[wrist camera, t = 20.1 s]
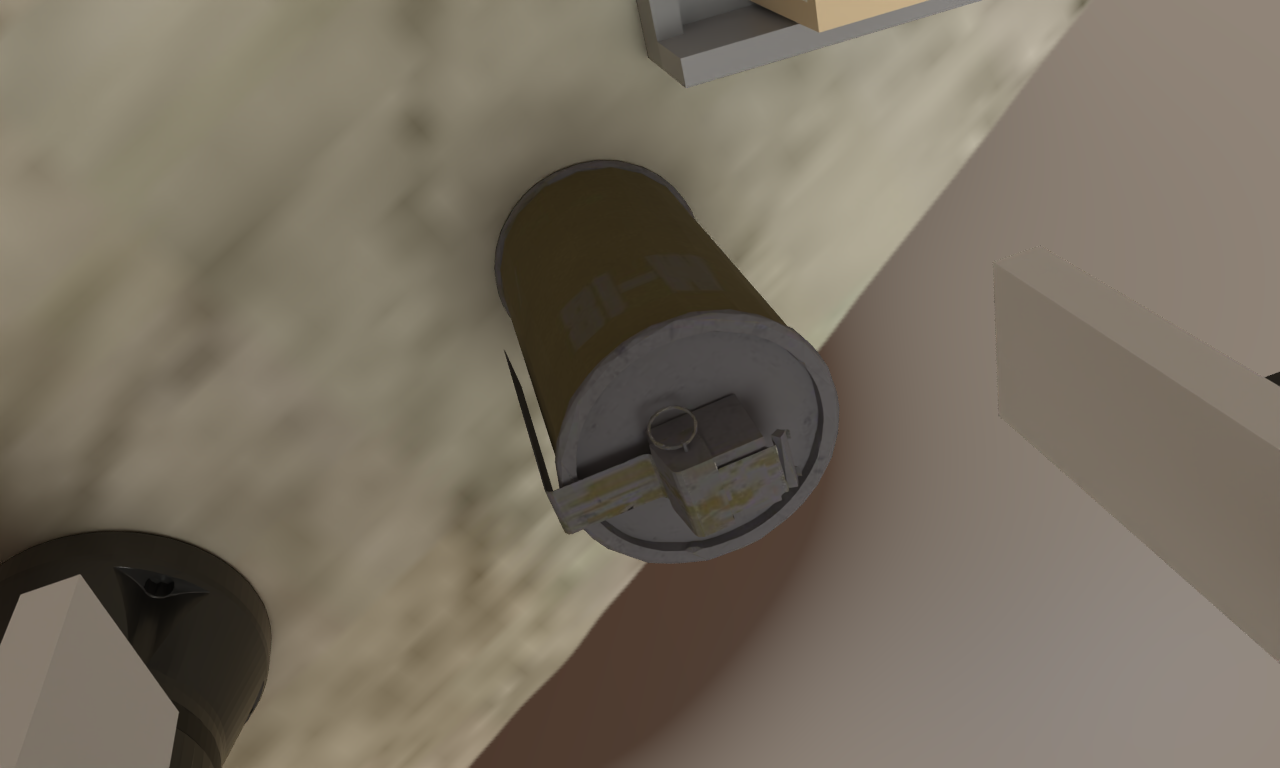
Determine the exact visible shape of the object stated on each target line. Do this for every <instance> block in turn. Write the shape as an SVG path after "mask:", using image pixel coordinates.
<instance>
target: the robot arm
mask: <svg viewBox="0 0 1280 768" xmlns="http://www.w3.org/2000/svg"><path fill="white" fill-rule="evenodd" d="M993 275H994V303H995V329H996V330H995V331H996V356H997V385H998V386H997V387H998V412H999V413H998V415H999V416H1000V417H1001V418H1002V419H1003V420H1004V421H1005V422H1006V423H1008V424H1009V425H1010V426H1011V427H1012V428H1013V429H1014V430H1015V431H1017V432H1018V433H1019V434H1020V435H1021V436H1022V437H1023V438H1025V439H1026V440H1027V441H1028V442H1029V443H1030V444H1031V445H1033V446H1034V447H1035V448H1036V449H1037V450H1038V451H1040V453H1042V454H1043V455H1044V456H1045V457H1046V458H1047V459H1048V460H1050V461H1051V462H1052V463H1053V464H1054V465H1055V466H1056V467H1058V468H1059V469H1060V470H1061V471H1062V472H1063V473H1065V475H1066V476H1068V477H1069V478H1070V479H1071V480H1072V481H1073V482H1074V483H1076V484H1077V485H1078V486H1079V487H1080V488H1081V489H1082V490H1084V491H1085V492H1086V493H1087V494H1088V495H1089V496H1090V497H1091V498H1093V499H1094V500H1095V501H1096V502H1097V503H1098V504H1099V505H1101V506H1102V507H1103V508H1104V509H1105V510H1106V511H1107V512H1108V513H1110V514H1111V515H1112V516H1113V517H1114V518H1115V519H1117V520H1118V521H1119V522H1120V523H1121V524H1122V525H1123V526H1124V527H1126V528H1127V529H1128V530H1129V531H1130V532H1131V533H1132V534H1133V535H1135V536H1136V537H1137V538H1138V539H1139V540H1140V541H1141V542H1143V543H1144V544H1145V545H1146V546H1147V547H1148V548H1149V549H1151V550H1152V551H1153V552H1154V553H1155V554H1156V555H1157V556H1158V557H1159V558H1161V559H1162V560H1163V561H1164V562H1165V563H1166V564H1167V565H1169V566H1170V567H1171V568H1172V569H1173V570H1175V572H1176V573H1178V574H1179V575H1180V576H1181V577H1182V578H1183V579H1185V580H1186V581H1187V582H1188V583H1189V584H1190V585H1191V586H1192V587H1194V588H1195V589H1196V590H1197V591H1198V592H1199V593H1200V594H1202V595H1203V596H1204V597H1205V598H1206V599H1207V600H1208V601H1209V602H1211V603H1212V604H1213V605H1214V606H1215V607H1216V608H1217V609H1219V610H1220V611H1221V612H1222V613H1223V614H1224V615H1225V616H1227V617H1228V618H1229V619H1230V620H1231V621H1232V622H1233V623H1234V624H1236V625H1237V626H1238V627H1239V628H1240V629H1241V630H1242V631H1243V632H1245V633H1246V634H1247V635H1248V636H1249V637H1250V638H1251V639H1253V640H1254V641H1255V642H1256V643H1257V644H1258V645H1259V646H1260V647H1262V648H1263V649H1264V650H1265V651H1266V652H1267V653H1269V654H1270V655H1271V656H1272V657H1273V658H1274V659H1275V660H1276V661H1278V662H1279V663H1280V372H1278V373H1275V374H1272V375H1270V376H1267V377H1263V376H1261V375H1259V374H1258V373H1256V372H1254V371H1253V370H1251V369H1249V368H1247V367H1246V366H1244V365H1242V364H1241V363H1239V362H1237V361H1235V360H1234V359H1232V358H1231V357H1229V356H1227V355H1225V354H1224V353H1222V352H1220V351H1219V350H1217V349H1215V348H1213V347H1212V346H1210V345H1208V344H1207V343H1205V342H1203V341H1201V340H1200V339H1198V338H1196V337H1195V336H1193V335H1192V334H1190V333H1188V332H1186V331H1185V330H1183V329H1181V328H1179V327H1178V326H1176V325H1174V324H1173V323H1171V322H1169V321H1168V320H1166V319H1164V318H1163V317H1161V316H1159V315H1158V314H1156V313H1154V312H1153V311H1151V310H1149V309H1147V308H1145V307H1144V306H1142V305H1141V304H1139V303H1137V302H1136V301H1134V300H1132V299H1130V298H1129V297H1127V296H1125V295H1123V294H1122V293H1120V292H1119V291H1117V290H1115V289H1113V288H1112V287H1110V286H1108V285H1107V284H1105V283H1103V282H1102V281H1100V280H1098V279H1097V278H1095V277H1093V276H1091V275H1090V274H1088V273H1086V272H1085V271H1083V270H1081V269H1080V268H1078V267H1076V266H1074V265H1073V264H1071V263H1069V262H1067V261H1066V260H1064V259H1063V258H1061V257H1059V256H1057V255H1056V254H1054V253H1052V252H1051V251H1049V250H1047V249H1046V248H1044V247H1042V246H1038V247H1035V248H1032V249H1029V250H1026V251H1023V252H1020V253H1017V254H1014V255H1011V256H1009V257H1006V258H1003V259H1000V260H997V261H994V262H993ZM270 651H271V628H270V623H269V619H268V616H267V613H266V610H265V608H264V606H263V604H262V602H261V600H260V598H259V597H258V595H257V594H256V592H255V591H254V590H253V588H252V587H251V586H250V584H249V583H248V582H247V581H246V580H245V579H244V578H243V577H242V576H241V575H240V574H239V573H237V572H236V571H235V570H234V569H232V568H231V567H230V566H229V565H227V564H226V563H224V562H223V561H221V560H220V559H218V558H216V557H214V556H213V555H211V554H209V553H207V552H205V551H203V550H201V549H198V548H196V547H193V546H191V545H188V544H185V543H182V542H179V541H176V540H172V539H169V538H164V537H160V536H155V535H149V534H141V533H131V532H98V533H87V534H80V535H74V536H69V537H64V538H60V539H56V540H53V541H49V542H46V543H43V544H41V545H38V546H35V547H33V548H30V549H28V550H26V551H24V552H22V553H20V554H18V555H16V556H14V557H13V558H11V559H9V560H8V561H6V562H4V563H3V564H2V565H0V768H222V766H223V764H224V762H225V760H226V758H227V756H228V755H229V753H230V751H231V749H232V747H233V745H234V743H235V741H236V739H237V737H238V736H239V734H240V732H241V730H242V728H243V726H244V724H245V723H246V722H247V721H248V719H249V718H250V716H251V714H252V713H253V711H254V710H255V708H256V706H257V704H258V703H259V701H260V699H261V696H262V694H263V691H264V688H265V685H266V681H267V677H268V671H269V662H270Z"/></svg>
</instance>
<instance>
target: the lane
mask: <svg viewBox="0 0 1280 768" xmlns="http://www.w3.org/2000/svg"><path fill="white" fill-rule="evenodd" d="M978 1H981V0H928V1H925V2H921V3H918V4H915V5H911V6H908V7H904V8H901V9H898V10H894V11H891V12H888V13H884V14H881V15H877V16H874V17H871V18H867V19H864V20H860V21H857V22H854V23H850V24H847V25H844V26H840V27H837V28H833V29H830V30H827V31H823V32H820V33H818V32H816V31H814V30H812V29H810V28H808V27H806V26H803V25H801V24H799V23H797V22H795V21H793V20H791V19H788V18H786V17H784V16H782V15H780V14H778V13H776V12H773V11H771V10H769V9H767V8H765V7H763V6H761V5H758V4H756V3H754V2H752V1H750V0H637V5H638V10H639V15H640V20H641V24H642V29H643V34H644V39H645V44H646V48H647V53H648V58H650V59H651V60H652V61H653V62H654V63H656V64H657V65H658V66H659V67H661V68H662V69H663V70H664V71H666V72H667V73H668V74H669V75H670V76H672V77H673V78H674V79H675V80H677V81H678V82H679V83H680V84H682V85H683V86H684V87H685V88H688V87H692V86H695V85H698V84H702V83H705V82H709V81H712V80H715V79H719V78H722V77H725V76H729V75H732V74H735V73H739V72H742V71H746V70H749V69H752V68H756V67H759V66H762V65H766V64H769V63H772V62H776V61H779V60H783V59H786V58H789V57H793V56H796V55H799V54H803V53H806V52H809V51H813V50H816V49H820V48H823V47H826V46H830V45H833V44H836V43H840V42H843V41H846V40H850V39H853V38H857V37H860V36H863V35H867V34H870V33H873V32H877V31H880V30H883V29H887V28H890V27H894V26H897V25H900V24H904V23H907V22H910V21H914V20H917V19H920V18H924V17H927V16H930V15H934V14H937V13H941V12H944V11H947V10H951V9H954V8H957V7H961V6H964V5H967V4H971V3H974V2H978Z"/></svg>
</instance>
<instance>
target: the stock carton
mask: <svg viewBox="0 0 1280 768" xmlns="http://www.w3.org/2000/svg"><path fill="white" fill-rule="evenodd" d="M750 1H752V2H754V3H756V4H758V5H761V6H763V7H765V8H767V9H769V10H771V11H773V12H776V13H778V14H780V15H782V16H784V17H786V18H788V19H791V20H793V21H795V22H797V23H799V24H801V25H803V26H806V27H808V28H810V29H812V30H814V31H816V32H818V33H820V32H823V31H827V30H830V29H833V28H837V27H840V26H844V25H847V24H850V23H854V22H857V21H860V20H864V19H867V18H871V17H874V16H877V15H881V14H884V13H888V12H891V11H894V10H898V9H901V8H904V7H908V6H911V5H915V4H918V3H921V2H925V1H928V0H750Z"/></svg>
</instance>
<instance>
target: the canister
mask: <svg viewBox="0 0 1280 768" xmlns="http://www.w3.org/2000/svg"><path fill="white" fill-rule="evenodd" d="M495 277H496V283H497V288H498V293H499V296H500V299H501V301H502V304H503V306H504V308H505V310H506V311H507V313H508V315H509V316H510V318H511V319H512V322H513V325H514V329H515V332H516V335H517V338H518V341H519V344H520V347H521V350H522V354H523V357H524V360H525V363H526V366H527V369H528V372H529V375H530V378H531V382H532V385H533V388H534V391H535V394H536V397H537V400H538V403H539V407H540V410H541V413H542V416H543V419H544V422H545V425H546V428H547V431H548V435H549V438H550V441H551V444H552V447H553V450H554V453H555V464H556V470H557V476H558V482H559V488H560V489H557V490H555V491H553V489H552V486H551V483H550V479H549V476H548V473H547V469H546V466H545V463H544V459H543V456H542V453H541V450H540V446H539V443H538V440H537V436H536V433H535V430H534V426H533V423H532V420H531V417H530V413H529V410H528V407H527V403H526V400H525V397H524V393H523V390H522V387H521V385H520V382H519V380H518V378H517V376H516V374H515V372H514V369H513V367H512V365H511V363H510V361H509V358H508V356H507V354H506V352H505V350H504V352H505V355H506V359H507V362H508V366H509V369H510V372H511V376H512V379H513V383H514V386H515V390H516V393H517V396H518V400H519V403H520V407H521V410H522V414H523V417H524V420H525V424H526V427H527V431H528V434H529V438H530V441H531V445H532V448H533V451H534V455H535V458H536V462H537V465H538V469H539V472H540V475H541V479H542V482H543V486H544V489H545V492H546V494H547V496H548V498H549V500H550V502H551V504H552V506H553V508H554V511H555V513H556V515H557V517H558V519H559V521H560V523H561V525H562V527H563V529H564V531H565V533H567V534H573V533H575V532H578V531H580V530H583V529H584V530H585V531H586V532H587V533H588V534H589V535H590V536H591V537H592V538H593V539H594V540H596V541H597V542H599V543H600V544H602V545H603V546H605V547H606V548H608V549H610V550H613V551H616V552H619V553H622V554H625V555H627V556H630V557H633V558H636V559H639V560H642V561H645V562H648V563H686V562H695V561H705V560H710V559H713V558H716V557H718V556H721V555H724V554H726V553H729V552H732V551H735V550H738V549H740V548H743V547H745V546H747V545H749V544H751V543H753V542H755V541H757V540H759V539H761V538H762V537H764V536H765V535H766V534H768V533H769V532H770V531H772V530H773V529H774V528H776V527H777V526H778V525H780V524H781V523H782V522H784V521H785V520H786V519H787V518H788V517H789V516H791V515H792V514H793V513H794V512H795V511H796V510H797V509H798V508H799V507H800V506H801V505H802V504H803V503H804V501H805V500H806V499H807V498H808V496H809V495H810V494H811V492H812V491H813V490H814V488H815V487H816V486H817V485H818V482H819V481H820V479H821V477H822V475H823V473H824V471H825V469H826V467H827V465H828V463H829V462H830V460H831V457H832V454H833V449H834V446H835V442H836V438H837V434H838V423H839V403H838V397H837V391H836V388H835V386H834V383H833V380H832V377H831V374H830V372H829V368H828V366H827V365H826V364H825V362H824V361H823V359H822V358H821V356H820V355H819V353H818V352H817V351H816V350H815V348H814V347H813V346H812V345H811V344H810V343H809V342H808V341H807V340H805V339H804V338H803V337H802V336H801V335H800V334H798V333H797V332H796V331H795V330H794V329H793V328H790V327H788V326H787V325H786V324H785V323H784V322H783V320H782V319H781V318H780V317H779V316H778V315H777V314H776V312H775V311H774V310H773V309H772V308H771V307H770V305H769V304H768V303H767V302H766V301H765V300H764V299H763V297H762V296H761V295H760V294H759V293H758V292H757V291H756V289H755V288H754V287H753V286H752V285H751V284H750V282H749V281H748V280H747V279H746V278H745V277H744V276H743V274H742V273H741V272H740V271H739V270H738V269H737V268H736V266H735V265H734V264H733V263H732V262H731V261H730V259H729V258H728V257H727V256H726V255H725V254H724V253H723V251H722V250H721V249H720V248H719V247H718V246H717V245H716V243H715V242H714V241H713V240H712V239H711V238H710V236H709V235H708V234H707V233H706V232H705V231H704V230H703V228H702V227H701V226H700V225H699V224H698V223H697V222H696V220H695V218H694V216H693V214H692V211H691V209H690V208H689V206H688V205H687V203H686V201H685V200H684V199H683V198H682V196H681V195H680V194H679V193H678V192H677V190H676V189H675V188H674V187H673V186H672V185H670V184H669V183H668V182H667V181H666V180H664V179H663V178H662V177H661V176H659V175H657V174H655V173H653V172H651V171H649V170H647V169H645V168H643V167H640V166H636V165H632V164H629V163H625V162H621V161H603V160H597V161H591V162H586V163H581V164H577V165H574V166H571V167H568V168H566V169H563V170H560V171H557V172H554V173H553V174H551V175H550V176H548V177H547V178H545V179H544V180H542V181H541V182H539V183H537V184H536V185H535V186H534V187H533V188H531V189H530V190H529V191H528V192H527V193H526V194H525V195H524V196H523V198H522V199H521V200H520V201H519V202H518V204H517V205H516V206H515V207H514V208H513V210H512V212H511V214H510V216H509V218H508V219H507V221H506V223H505V225H504V227H503V229H502V230H501V233H500V237H499V240H498V244H497V247H496V255H495Z"/></svg>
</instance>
